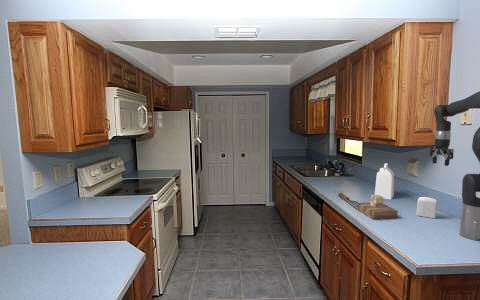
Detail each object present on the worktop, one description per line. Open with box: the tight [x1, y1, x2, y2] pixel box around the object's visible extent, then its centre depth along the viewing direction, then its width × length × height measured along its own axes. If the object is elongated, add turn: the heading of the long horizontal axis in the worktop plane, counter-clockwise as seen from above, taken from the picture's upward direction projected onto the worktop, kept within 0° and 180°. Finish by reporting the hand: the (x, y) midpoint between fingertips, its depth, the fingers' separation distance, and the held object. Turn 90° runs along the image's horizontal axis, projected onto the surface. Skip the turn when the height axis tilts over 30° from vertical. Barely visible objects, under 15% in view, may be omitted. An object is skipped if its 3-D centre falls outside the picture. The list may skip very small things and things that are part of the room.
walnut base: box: [356, 201, 399, 221], centre depth 178 cm, size 18×16×5 cm
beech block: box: [370, 194, 384, 208], centre depth 178 cm, size 5×5×7 cm
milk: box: [374, 162, 395, 200], centre depth 216 cm, size 12×12×26 cm
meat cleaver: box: [337, 192, 360, 210], centre depth 202 cm, size 34×11×4 cm, turn 2°
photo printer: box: [415, 196, 438, 219], centre depth 173 cm, size 10×4×12 cm, turn 60°
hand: (440, 164), depth 170 cm, fingers open, 8 cm apart
